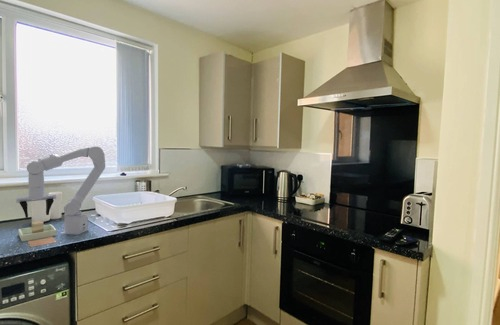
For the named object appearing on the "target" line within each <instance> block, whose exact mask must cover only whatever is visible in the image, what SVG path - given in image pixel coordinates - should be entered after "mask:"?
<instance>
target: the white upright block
mask: <svg viewBox="0 0 500 325" xmlns="http://www.w3.org/2000/svg"><path fill="white" fill-rule="evenodd" d="M47 195H56V199H53V200H54V202H53V204H52V205H51V208H50V219H51V220H59V219H61V218H62V212H63V209H62V208H63V197H64V196H63V192H62V191H50V192H48V193H47Z"/></svg>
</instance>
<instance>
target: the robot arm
mask: <svg viewBox="0 0 500 325" xmlns="http://www.w3.org/2000/svg"><path fill="white" fill-rule="evenodd" d="M105 156H106V155H105V153H104V151H103V149H102V148H101V147H100V146H95V145H94V146H90V147H85V148H80V149H76V150H74V151H70V152H69V153H66V154H63V155H58V154H49V156H47V157H45V158H38V159H37V160H35V161H34V160H33V161H31V162H29V163H28V164H27V165H26V171H27V172H28V181H27V182H28V196H23V197H16V198H15V200H16V201H15V202H16V204H19V205H20V207H21V209H22V211H23V212H24V216H25V218H26V219H27V218H29V214H28V202H31V201H39V200H46V215H49V211H50V208H51V205H52V204H53V202H54V200H53V199H56V195H48V194H45V177H44V172H45V171H49V170H53V169H56V168H58V167H61V166H62V165H63V163H65V162H67V161H71V160H74V159H78V158H88V157H89V158H90V159H91V161H92V163H93V168H92V170H91V171H90V173H89V174H88V176H87V177H86V179H85V180H84V182H83V183H82V185H80V187H79V189H78V190H77V191H76V193H75V195H74V196H73V198H71V199H70V200H68V201H67V203H66V204H65V206H64V207H63V211H64V214H63V216H64V219H63V220H64V231H61V232H60V233H59V234H61V235H80V234H83V233H84V232H87V231H89V230H90V229H89V219H88V216H87V215H86V214H83V212H82V211H81V208H82V203H83V202H84V200H85V199H86V197H87V196H88V194H89V193H90V191H91V190H92V189H93V187H94V186H95V184H96V182H97V181H98V179H99V178H100V176H101V175H102V173H103V172H104V170H105V169H106V157H105ZM33 199H36V200H33Z"/></svg>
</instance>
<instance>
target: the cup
mask: <svg viewBox="0 0 500 325" xmlns="http://www.w3.org/2000/svg"><path fill="white" fill-rule="evenodd" d="M33 200H36V199H33ZM30 215H31V222H37V221H43V223H44V222H47V221H50V219H51V218H50V211H49V215H46V200H39V201H30Z"/></svg>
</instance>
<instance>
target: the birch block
mask: <svg viewBox="0 0 500 325" xmlns="http://www.w3.org/2000/svg"><path fill="white" fill-rule="evenodd" d="M30 224H31V227H32V234H33V233H39V232H44V225H45V224H44V222H43V221H37V222H32V221H31V223H30Z"/></svg>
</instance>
